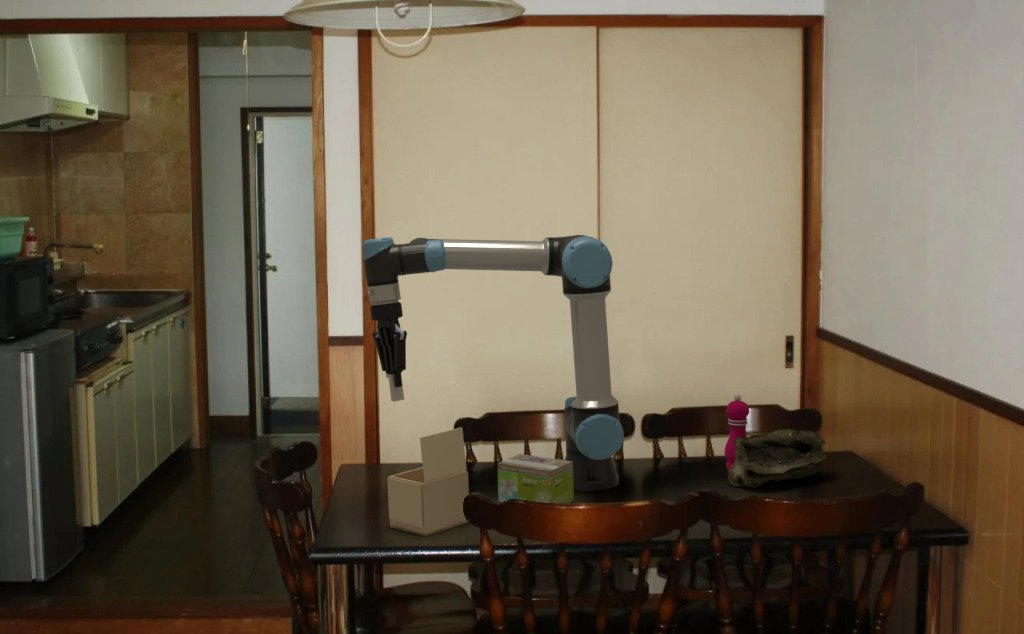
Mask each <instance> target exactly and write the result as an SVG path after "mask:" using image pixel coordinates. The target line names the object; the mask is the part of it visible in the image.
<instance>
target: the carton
mask: <svg viewBox="0 0 1024 634" xmlns="http://www.w3.org/2000/svg"><path fill="white" fill-rule="evenodd" d="M386 481H387V497H388V498H387V499H388V503H387V505H388V519H389V528H392V529H395V530H399V531H403V532H407V533H412V534H413V535H418V536H422V537H428V536H431V535H434V534H437V533H440V532H443V531H447V530H449V529H453V528H455V527H459V526H461V525H464V524H467V523H469V522H468V521H467V520H466V518H465V516H464V513H463V502H464V498H465V497H466V496H467V495H470V491H469V490H470V489H469V473H468V471H467V470H465V471H462V472H458V473H455V474H451V475H448V476H444V477H441V478H437V479H434V480H430V481H427V482H424V474H423V466H421V467H418V468H415V469H410V470H407V471H402V472H399V473H396V474H392V475H389V476H387V480H386Z"/></svg>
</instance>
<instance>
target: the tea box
mask: <svg viewBox="0 0 1024 634" xmlns="http://www.w3.org/2000/svg"><path fill="white" fill-rule="evenodd" d="M574 491H575V490H573V461H565V459H559V458H558V459H557V458H551V457H544V456H537V455H530V454H522V453H519V454H517V455H515V456H512V457H510V458H508V459H506V460H502V461H500V462H497V496H498V504H499V503H502V502H505V501H507V500H509V499H519V500H528V501H535V502H543V503H574V504H575V502H574V500H575V499H574V496H575V493H574Z"/></svg>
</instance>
